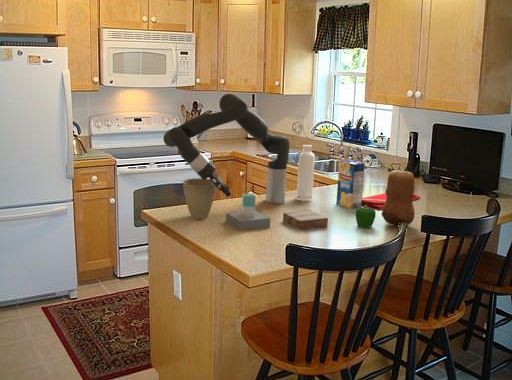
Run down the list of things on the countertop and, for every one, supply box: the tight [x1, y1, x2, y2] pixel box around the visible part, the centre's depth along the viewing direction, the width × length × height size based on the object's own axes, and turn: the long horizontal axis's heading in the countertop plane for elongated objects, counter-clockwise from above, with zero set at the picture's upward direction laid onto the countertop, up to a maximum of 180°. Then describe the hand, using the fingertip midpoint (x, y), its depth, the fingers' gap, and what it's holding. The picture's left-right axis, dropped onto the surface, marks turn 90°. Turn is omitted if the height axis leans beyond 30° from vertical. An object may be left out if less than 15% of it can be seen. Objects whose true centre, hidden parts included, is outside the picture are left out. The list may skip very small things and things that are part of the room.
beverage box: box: [336, 159, 366, 209], centre depth 288 cm, size 7×11×22 cm, turn 35°
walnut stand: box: [282, 209, 329, 231], centre depth 253 cm, size 14×14×4 cm
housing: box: [241, 193, 256, 217], centre depth 247 cm, size 5×5×9 cm
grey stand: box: [225, 209, 271, 231], centre depth 248 cm, size 14×14×4 cm
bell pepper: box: [355, 205, 377, 229], centre depth 252 cm, size 8×8×10 cm
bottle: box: [295, 144, 316, 202], centre depth 296 cm, size 8×8×28 cm
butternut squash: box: [381, 169, 415, 228], centre depth 254 cm, size 14×13×25 cm
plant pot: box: [182, 177, 217, 220], centre depth 255 cm, size 15×15×16 cm
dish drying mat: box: [361, 192, 421, 211], centre depth 302 cm, size 16×41×4 cm, turn 137°
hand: (228, 193), depth 244 cm, fingers open, 8 cm apart
